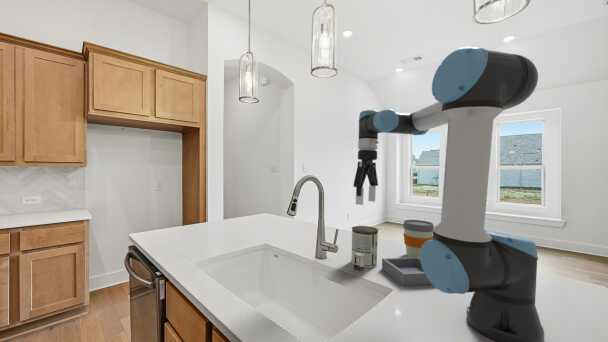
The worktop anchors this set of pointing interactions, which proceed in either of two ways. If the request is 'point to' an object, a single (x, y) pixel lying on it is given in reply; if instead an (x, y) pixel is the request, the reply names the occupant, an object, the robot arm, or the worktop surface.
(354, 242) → the coffee can
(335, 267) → the worktop surface
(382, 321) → the worktop surface
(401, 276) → the housing tray
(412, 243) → the reusable coffee cup
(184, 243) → the worktop surface
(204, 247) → the worktop surface
